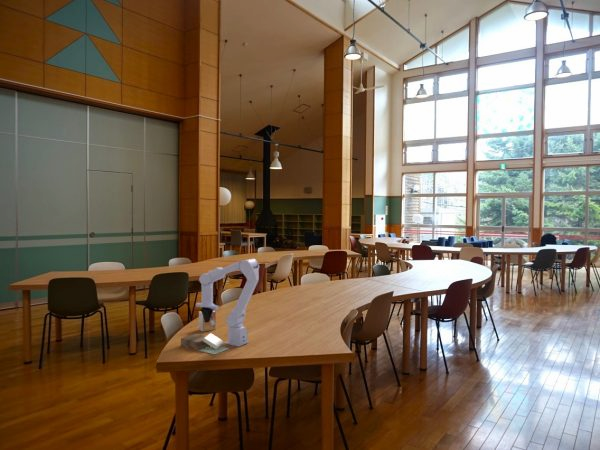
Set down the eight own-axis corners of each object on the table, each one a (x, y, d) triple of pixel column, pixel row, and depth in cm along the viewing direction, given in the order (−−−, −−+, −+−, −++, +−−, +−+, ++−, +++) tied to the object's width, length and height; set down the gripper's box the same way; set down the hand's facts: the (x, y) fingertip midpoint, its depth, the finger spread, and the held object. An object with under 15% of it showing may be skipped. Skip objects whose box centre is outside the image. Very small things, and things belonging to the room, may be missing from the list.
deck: (212, 345, 213) (212, 337, 213) (198, 350, 205) (198, 342, 204) (195, 341, 219) (195, 333, 219) (180, 346, 211) (180, 338, 211)
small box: (202, 332, 237) (202, 313, 237) (198, 329, 241) (198, 311, 241) (215, 329, 242) (215, 311, 241) (211, 327, 246) (211, 309, 246)
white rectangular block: (222, 344, 211) (223, 341, 210) (216, 349, 205) (217, 346, 204) (209, 336, 212) (210, 333, 212) (202, 341, 207) (204, 337, 206)
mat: (229, 349, 207) (229, 348, 207) (214, 354, 199) (214, 353, 199) (214, 345, 212) (214, 344, 212) (199, 350, 204) (199, 350, 204)
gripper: (222, 296, 221) (222, 322, 221) (202, 293, 229) (202, 318, 229) (213, 298, 215) (213, 325, 215) (192, 295, 223) (192, 321, 223)
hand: (207, 322), depth 222 cm, fingers closed
